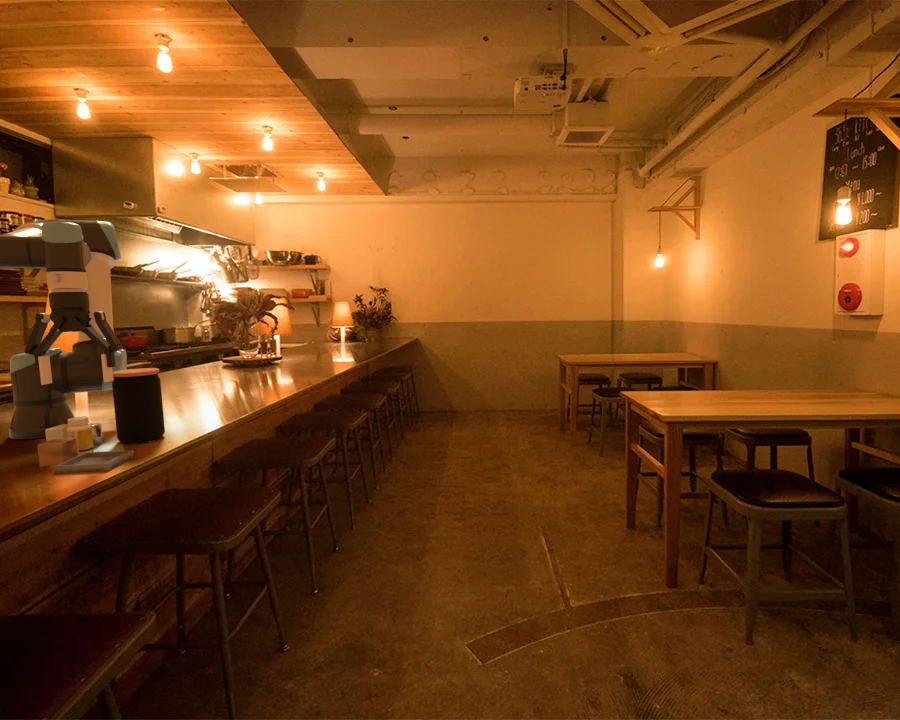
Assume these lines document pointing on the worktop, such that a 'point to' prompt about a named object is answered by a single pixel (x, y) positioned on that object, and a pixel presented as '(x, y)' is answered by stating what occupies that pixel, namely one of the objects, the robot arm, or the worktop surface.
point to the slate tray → (93, 461)
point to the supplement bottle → (81, 433)
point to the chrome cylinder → (97, 433)
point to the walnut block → (57, 451)
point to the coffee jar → (138, 405)
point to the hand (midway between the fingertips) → (77, 382)
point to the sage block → (57, 432)
